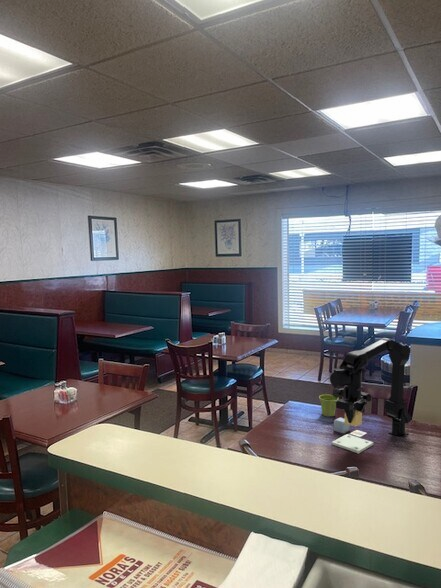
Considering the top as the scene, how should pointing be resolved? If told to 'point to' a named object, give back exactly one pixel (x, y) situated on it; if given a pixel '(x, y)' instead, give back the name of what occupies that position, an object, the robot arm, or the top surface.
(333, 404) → the plant pot
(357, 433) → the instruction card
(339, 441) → the base board
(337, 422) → the slate brick
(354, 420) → the yellow cube
